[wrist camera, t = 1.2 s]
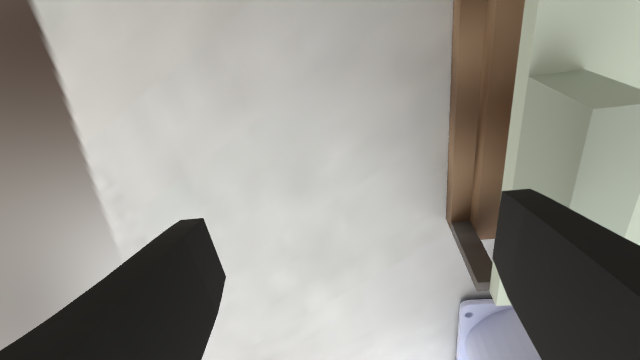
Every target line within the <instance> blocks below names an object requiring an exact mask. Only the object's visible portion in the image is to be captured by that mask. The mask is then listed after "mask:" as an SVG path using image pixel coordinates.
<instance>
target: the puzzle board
mask: <svg viewBox="0 0 640 360" xmlns="http://www.w3.org/2000/svg"><path fill="white" fill-rule="evenodd" d="M524 5H525V0H454V9H453V37H452V66H451V94H450V123H449V151H448V180H447V208H446V220H447V222H448V225H449V227H450V229H451V232H452V234H453V236H454V239H455V241H456V243H457V246H458V248H459V250H460V253H461V255H462V257H463V260H464V262H465V264H466V267H467V269H468V271H469V274H470V276H471V278H472V281H473V283H474V285H475V288H476V290H477V291H487V290H489V289H490V281H491V272H492V264H493V263H492V261H491V260H490V258H489V256H488V254H487V252H486V250H485V248H484V246H483V244H482V242H481V241H480V240H482V239H495V236H496V229H497V222H498V215H499V208H500V199H501V191H502V183H503V175H504V167H505V159H506V151H507V143H508V134H509V126H510V118H511V110H512V102H513V94H514V86H515V78H516V69H517V61H518V53H519V45H520V37H521V29H522V21H523V13H524Z"/></svg>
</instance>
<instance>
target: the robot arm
mask: <svg viewBox="0 0 640 360" xmlns="http://www.w3.org/2000/svg"><path fill="white" fill-rule="evenodd" d="M493 261H494V263H495V266H496V269H497V271H498V274H499V277H500V279H501V282H502V284H503V287H504V289H505V292H506V294H507V297H508V299H509V301H510V303H511V304H512V305H507V306H496V305H495V303H494V301H493V299H480V300H465V301H463V302H462V303H461V304H460V308H459V323H458V338H457V352H456V360H640V245H638V244H636V243H634V242H632V241H630V240H628V239H626V238H624V237H622V236H620V235H618V234H616V233H615V232H613V231H611V230H609V229H607V228H605V227H603V226H601V225H599V224H598V223H596V222H594V221H592V220H590V219H588V218H586V217H584V216H583V215H581V214H579V213H577V212H575V211H573V210H571V209H570V208H568V207H566V206H564V205H562V204H560V203H558V202H556V201H555V200H553V199H551V198H549V197H547V196H545V195H543V194H541V193H539V192H537V191H534V190H532V189H520V190H508V191H502V193H501V200H500V208H499V215H498V222H497V229H496V236H495V243H494V250H493ZM225 278H226V276H225V273H224V271H223V268H222V265H221V263H220V260H219V258H218V255H217V252H216V250H215V247H214V245H213V242H212V240H211V237H210V234H209V232H208V229H207V227H206V224H205V222H204V219H203V218H199V219H188V220H180V221H179V222H177V223H176V224H174V225H173V226H171V227H170V228H168V229H167V230H166V231H164V232H163V233H162V234H160V235H159V236H158V237H156V238H155V239H154V240H152V241H151V242H150V243H149V244H147V245H146V246H145V247H143V248H142V249H141V250H140V251H138V252H137V253H136V254H135V255H133V256H132V257H131V258H129V259H128V260H127V261H126V262H124V263H123V264H122V265H120V266H119V267H118V268H117V269H116V270H114V271H113V272H111V273H110V274H109V275H108V276H107V277H105V278H104V279H103V280H101V281H100V282H98V283H97V284H96V285H94V286H93V287H92V288H90V289H89V290H88V291H86V292H85V293H83V294H82V295H81V296H79V297H78V298H77V299H75V300H74V301H73V302H71V303H70V304H68V305H67V306H66V307H64V308H63V309H62V310H60V311H59V312H58V313H56V314H55V315H53V316H52V317H51V318H49V319H48V320H46V321H45V322H43V323H42V324H40V325H39V326H37V327H36V328H34V329H33V330H31V331H30V332H28V333H27V334H26V335H24V336H23V337H21V338H19V339H18V340H16V341H15V342H13V343H12V344H10V345H8V346H7V347H5V348H4V349H2V350H1V351H0V360H201V359H202V356H203V353H204V351H205V348H206V345H207V342H208V340H209V337H210V334H211V331H212V329H213V326H214V323H215V320H216V317H217V314H218V310H219V306H220V302H221V298H222V293H223V288H224V283H225Z"/></svg>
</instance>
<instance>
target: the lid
mask: <svg viewBox="0 0 640 360" xmlns="http://www.w3.org/2000/svg"><path fill="white" fill-rule="evenodd" d="M520 189H532V190H534V191H537V192H539V193H541V194H543V195H545V196H547V197H549V198H551V199H553V200H555V201H556V202H558V203H560V204H562V205H564V206H566V207H568V208H570V209H571V210H573V211H575V212H577V213H579V214H581V215H583V216H584V217H586V218H588V219H590V220H592V221H594V222H596V223H598V224H599V225H601V226H603V227H605V228H607V229H609V230H611V231H613V232H615V233H616V234H618V235H620V236H622V237H624V238H626V239H628V240H630V241H632V242H634V243H636V244H638V245H640V0H525V5H524V13H523V21H522V29H521V37H520V45H519V53H518V61H517V69H516V78H515V86H514V94H513V102H512V110H511V118H510V126H509V134H508V143H507V151H506V159H505V167H504V175H503V183H502V191H508V190H520ZM502 191H501V193H502ZM500 200H501V199H500ZM489 292H490V294H491V296H492V298H493V301H494V303H495V305H496V306H507V305H512V304H511V303H510V301H509V299H508V297H507V294H506V292H505V289H504V287H503V284H502V282H501V279H500V277H499V274H498V271H497V269H496V266H495V263H494V261H493V264H492V272H491V281H490V289H489Z"/></svg>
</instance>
